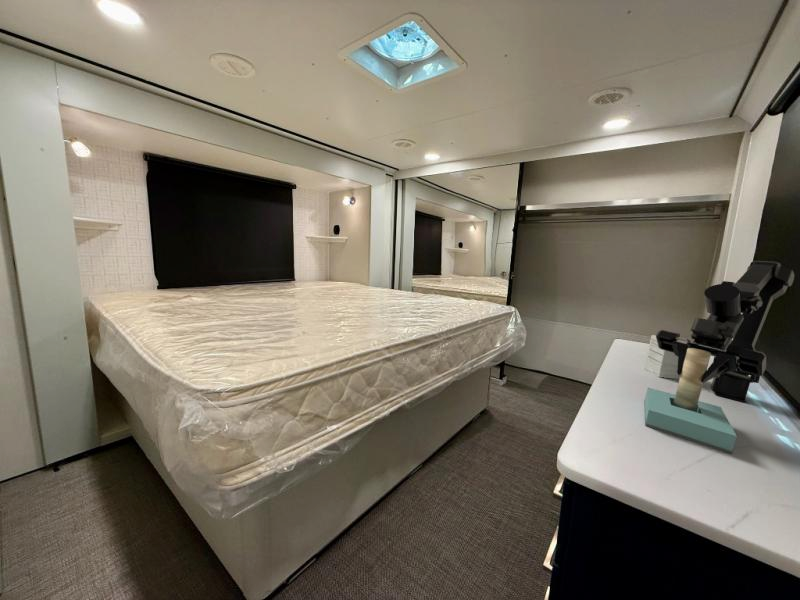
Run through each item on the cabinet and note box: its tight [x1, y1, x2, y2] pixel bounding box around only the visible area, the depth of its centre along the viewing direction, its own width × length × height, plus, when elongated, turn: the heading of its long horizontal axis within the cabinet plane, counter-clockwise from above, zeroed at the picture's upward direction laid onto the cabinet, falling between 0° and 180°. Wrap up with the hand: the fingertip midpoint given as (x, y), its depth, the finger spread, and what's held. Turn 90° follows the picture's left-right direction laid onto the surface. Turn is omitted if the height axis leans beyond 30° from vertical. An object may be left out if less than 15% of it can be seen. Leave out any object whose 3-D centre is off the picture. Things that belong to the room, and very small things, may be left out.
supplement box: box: [643, 334, 681, 380], centre depth 104 cm, size 7×7×13 cm
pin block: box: [643, 387, 738, 454], centre depth 73 cm, size 14×16×4 cm
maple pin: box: [674, 348, 712, 410], centre depth 73 cm, size 4×4×14 cm
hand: (690, 377), depth 72 cm, fingers closed on maple pin, 4 cm apart
